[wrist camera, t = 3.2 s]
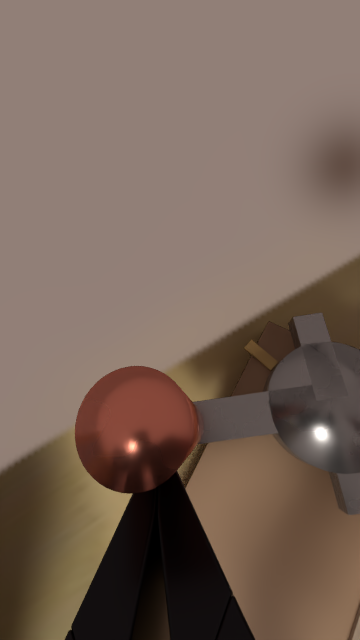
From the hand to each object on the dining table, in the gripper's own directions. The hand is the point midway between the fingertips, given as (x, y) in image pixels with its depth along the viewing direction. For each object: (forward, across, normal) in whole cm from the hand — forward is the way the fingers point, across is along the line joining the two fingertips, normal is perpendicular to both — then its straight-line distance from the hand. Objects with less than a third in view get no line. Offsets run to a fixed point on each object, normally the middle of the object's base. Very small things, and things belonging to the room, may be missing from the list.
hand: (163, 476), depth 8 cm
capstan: (+6, -5, +4) cm, 9 cm away
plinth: (+4, -6, +9) cm, 12 cm away
